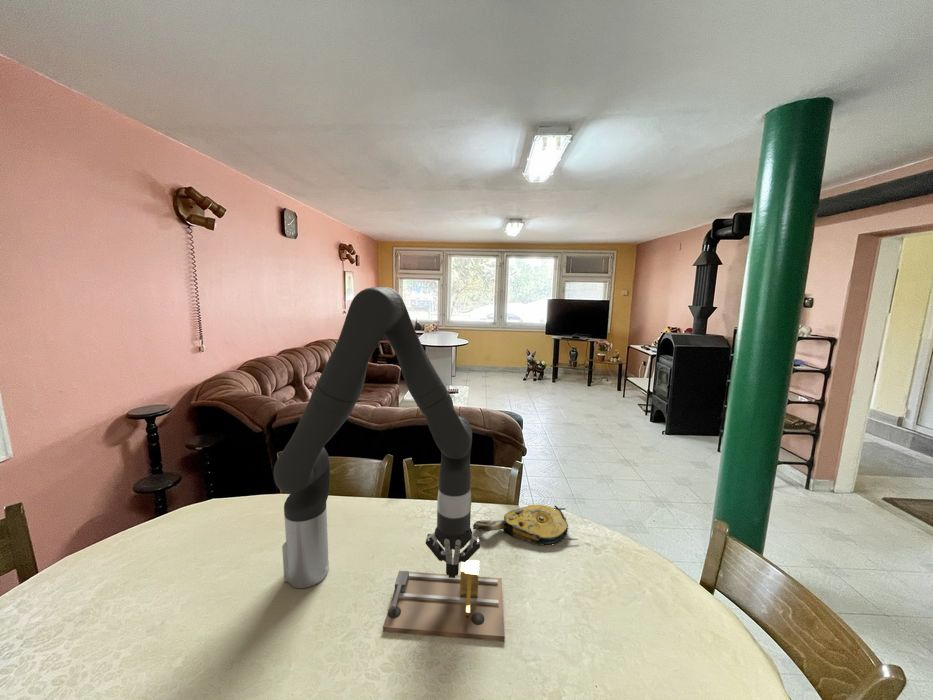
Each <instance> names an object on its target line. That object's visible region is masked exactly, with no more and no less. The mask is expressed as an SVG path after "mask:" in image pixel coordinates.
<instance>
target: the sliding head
mask: <svg viewBox="0 0 933 700" xmlns="http://www.w3.org/2000/svg"><path fill="white" fill-rule="evenodd" d="M479 563H480V561H479V560H469V559H468V560H467V561H466V562H465V563H463V562H461V565H460V575H461V579H460V597H467V601H466V617H467V618H468V617H469V615H470V597H474V598H478V577H479V571H480V570H479V569H480V567H479V566H480V564H479Z"/></svg>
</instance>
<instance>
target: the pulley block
mask: <svg viewBox="0 0 933 700" xmlns="http://www.w3.org/2000/svg"><path fill="white" fill-rule="evenodd" d="M554 509H555V510H554ZM563 510H566V508H563V507H562V508H561V507H560V508H559V507H558V506H557V505H553V507H551V506H549V505H543V504H530V505H527V506H523V507H520V508H516V509H513V510H511V511H507V513H505V514H504V516H503V520H502V519H501V520H490V519H488V520H487V519H486V520H477V521H475V522H474V523H473V524H472V530H478V531H483V532H492V531H499V530H503V532H504V534H505V535H507V536H509V537H511V538H514V539H517V540H521V541H524V542H527V543H530V544H533V545H536V546H539V547H540V546H541V545H542V544H543V545H542V546H545V545H550V546H553V545H552V544H555V545H557V544H559V543H561V542H562V541H567V540H569V541H572V540H573V541H575V540H578V538H566V535H567V533H568V530H569V529H570V527H569V524H568V523H567V518H566V516H565V514H564V513H563Z"/></svg>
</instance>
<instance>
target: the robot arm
mask: <svg viewBox="0 0 933 700" xmlns="http://www.w3.org/2000/svg"><path fill="white" fill-rule="evenodd" d="M348 307H349V308H348V309H347V312H346V316H345V319H344V323H343V325H342V327H341V328H342V329H341V331H340V335H339V337H338V339H337V342H336V345H335V347H334V348H333V350H332V352H331V354H330V356H329V358H328V360H327V361H326V364H325V366H324V369H323V371H322V372H321V374H320V376H319V377H318V380H317V382H316V384H315V386H314V389H313V390H312V392H311V395H310V398H309V400H308V402H307V404H306V406H305V408H304V411H303V412H302V414H301V416H300V418H299V422H298V424H297V426H296V428H295V430H294V432H293V434H292V435H291V437H290V439H289V440H288V442H287V444H286V445H285V446H284V448H283V450H282V451H281V453H280V454H279V456H278V458H277V459H276V462H275V464H274V467H273V481H274V483H275V485H276V486H277V488H278V489H279V490H280V491H281V492H283V493H286V494H288V496H287V498H286V500H285V501H284V504H283V515H284V516H283V517H284V528H285V529H284V531H285V532H284V534H285V542H284V543H283V544H282V546H281V547H282V549H281V550H282V566H283V567H282V568H283V581H284V583H289V585H290V586H291V587H293V588H296V589H307V588H310V587H313V586H316V585H318V584H319V583H320V582H322V581H323V580H324V579H325V578H326V576H327V575H328V573H329V569H330V567H329V566H330V564H329V563H330V561H329V538H328V515H327V514H328V513H327V512H328V511H327V509H328V508H327V501H328V498H329V495H330V485H331V484H330V483H331V481H330V480H331V479H330V477H331V473H330V472H331V463H330V457H329V453H328V452H327V450H326V448H325V445H326V444H327V443H328V442H329V441H330V440H331V439H332V438H333V437H334V435H335V434H337V432H338V430H340V428H341V427H342V426H343V424H344V423H345V422H346V421H347V420H348V418H349V417H350V416H351V414H352V412H353V410H354V408H355V406H356V404H357V402H358V400H359V398H360V397H361V394H362V392H363V390H364V385H365V383H366V382H365V381H366V375H367V369H368V365H369V361H370V359H371V357H372V355H373V354H374V352H375V350H376V348H377V347H378V345H379V343H380V341H381V340H382V339H383V337H384V338H385V339H386V340H387V342H389V344H390V346H391V347H392V349H393V351H394V354H395V356H396V358H397V361H398V364H399V367H400V369H401V373H402V376H403V379H404V382H405V385H406V387H407V390H408V391H409V393H410V396H411V397H412V399H413V400H414V403H415V404H416V406H417V407H418V408H419V411H420V412H421V413H422V414H423V416H424V417H425V418H424V419H425V420H426V423H427V425H428V428H429V432H430V434H431V435H432V438H433V441H434V443H435V444H436V446H437V448H438V449H439V451H440V452H441V459H440V460H441V461H440V465H439V471H438V490H437V491H438V493H437V502H436V503H437V505H436V506H437V507H436V508H437V509H436V512H437V513H436V527H435V529H434V532H433V533H427V535H426V539H425V545H426V546H427V548H428V549H429V550H430V552H431V553H432V554H433V555H434V556H435V557H436V559H437V560H438V562H443V561H444V562H445V574H447V575H449V578H455V575H456V576H457V575H459V571H460V569H459V568H460V566H459V565H460V563H462V562H463V563H465V562H466V561H467V560H469V559H470V558H472V556H473V555H474V554H476V552H477V551H478V550H479V549H480V548H481V537H479V536H475V535H473V529H472V528H471V517H472V516H471V512H472V509H471V508H472V493H471V479H472V478H471V477H472V475H471V474H472V472H471V454H472V453H471V451H472V445H473V444H472V443H473V429H472V426H471V424H470V422H469V421H468V420H467V419H466V418H464V417H463V416H459V415H458V414H457V411H456V410H455V406H454V402H453V399H452V397H451V394H450V393H449V390H448V389H447V387H446V386H445V384H444V382H443V381H442V379H441V377H440V376H439V373H437V370H436V369H435V367H434V365H433V364H432V362H431V360H430V358H429V357H428V355H427V353H426V351H425V349H424V347H423V345H422V343H421V340H420V339H419V336H418V334H417V331H416V330H415V327H414V324H413V321H412V319H411V317H410V314H409V312H408V310H407V309H408V308H407V306H406V304H405V301H404V299H403V297H402V296H401V294H400V293H399V292H398V291H397V290H395V289H394V288H391V287H389V286H374V287H369V288H365V289H363V290H361V291H359V292H358V293H356V294H355V296H354V297H353V298H352V300H351V302H350V305H349V306H348ZM467 544H468V545H467ZM465 546H466V547H465ZM453 550H454V555H453ZM461 550H462V551H461Z"/></svg>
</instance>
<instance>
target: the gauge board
mask: <svg viewBox="0 0 933 700" xmlns="http://www.w3.org/2000/svg"><path fill="white" fill-rule="evenodd" d="M460 579H461V574H458V575H457V576H456V575H455V578H449V575H447V574H446V573H434V572H418V571H417V572H416V571H408V570H399V571H398V573H397V576H396V579H395V582H394V591H393V594H392V597H391V600H390V603H389V607H388V610H387V612H386V615H385V619H384V622H383V626H382V632H383V633H395V634H407V635H417V636H418V635H419V636H432V637H443V638H457V639H469V640H470V639H471V640H482V641H493V642H495V641H496V642H505V636H506V635H505V622H504V620H505V617H504V600H503V598H504V597H503V581H502V580H503V579H502V578H501V577H489V576H488V577H487V576H478V598H474V597H470V615H469V617H468V618H467V617H466V601H467V597H460Z"/></svg>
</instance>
